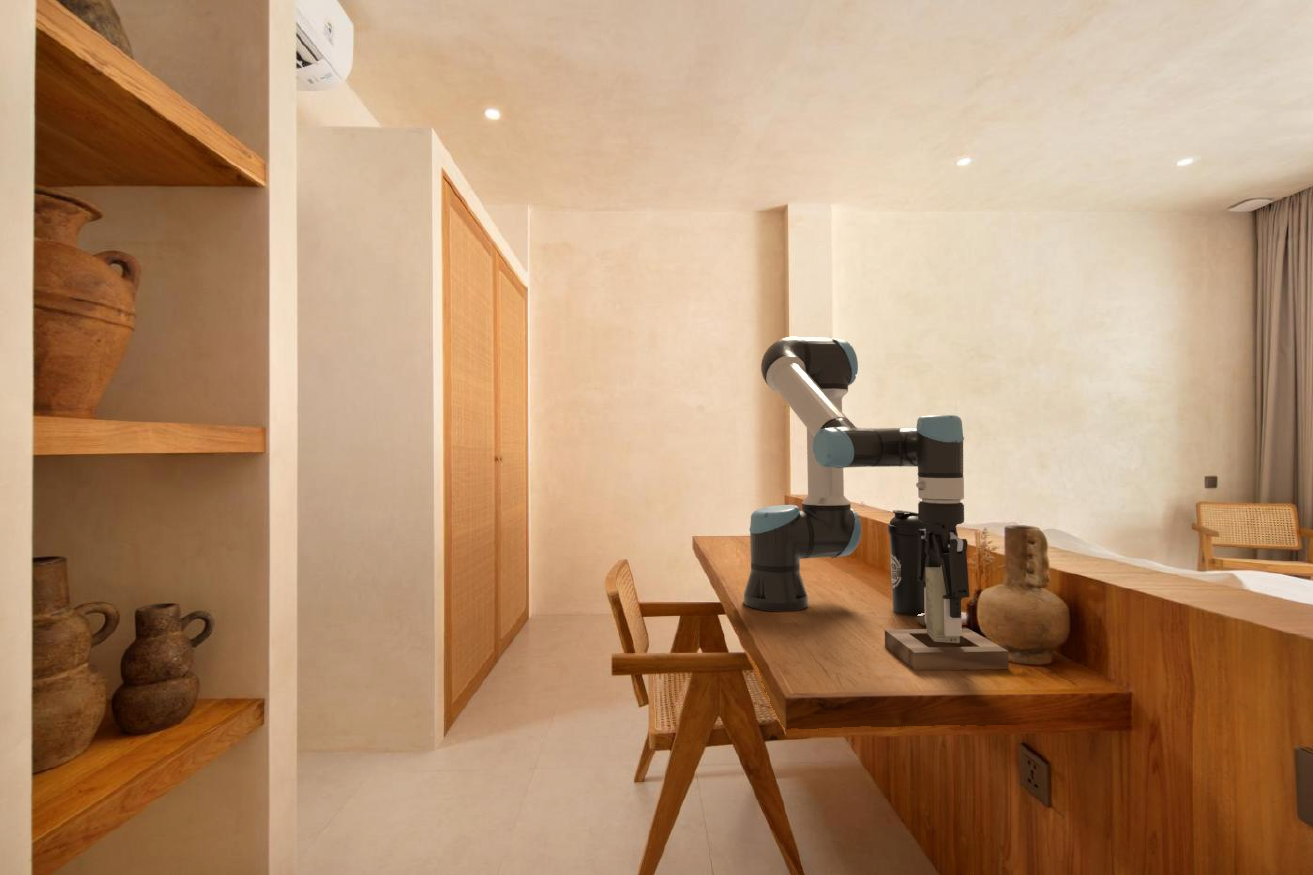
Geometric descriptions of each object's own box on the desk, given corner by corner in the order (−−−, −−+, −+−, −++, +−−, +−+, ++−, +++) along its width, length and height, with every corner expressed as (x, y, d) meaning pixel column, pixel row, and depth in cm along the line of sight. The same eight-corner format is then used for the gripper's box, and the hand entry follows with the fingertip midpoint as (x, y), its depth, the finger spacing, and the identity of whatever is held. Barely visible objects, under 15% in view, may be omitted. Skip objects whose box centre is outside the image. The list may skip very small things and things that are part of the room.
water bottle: (884, 605, 147) (883, 508, 147) (929, 606, 145) (928, 508, 146) (894, 616, 137) (893, 512, 137) (943, 618, 135) (941, 513, 136)
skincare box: (960, 644, 107) (960, 574, 107) (933, 642, 108) (933, 573, 108) (950, 632, 114) (950, 566, 114) (925, 631, 114) (924, 565, 114)
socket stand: (884, 645, 117) (884, 629, 117) (968, 644, 117) (968, 628, 117) (914, 670, 104) (914, 652, 104) (1008, 668, 104) (1008, 651, 104)
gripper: (897, 496, 121) (899, 614, 121) (946, 506, 101) (948, 647, 101) (935, 496, 121) (937, 613, 121) (992, 506, 101) (994, 646, 101)
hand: (942, 628), depth 111 cm, fingers closed on skincare box, 7 cm apart
